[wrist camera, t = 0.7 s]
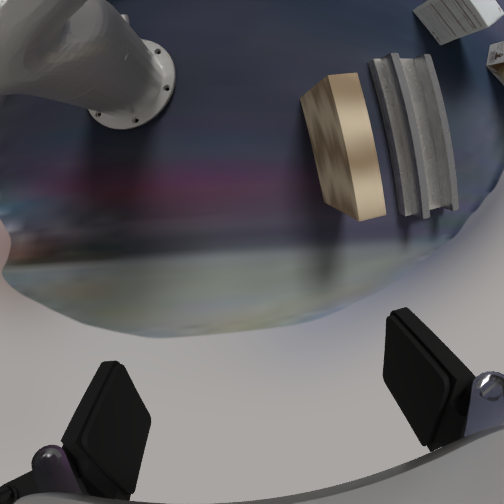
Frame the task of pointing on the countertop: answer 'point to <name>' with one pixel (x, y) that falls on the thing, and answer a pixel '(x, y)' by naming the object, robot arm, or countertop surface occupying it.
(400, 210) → the door track
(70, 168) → the countertop surface
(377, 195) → the door panel
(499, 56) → the coffee box
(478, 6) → the supplement box
